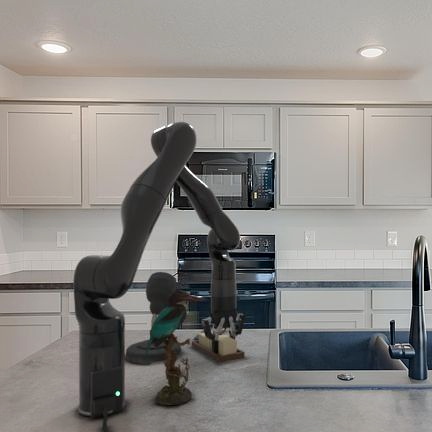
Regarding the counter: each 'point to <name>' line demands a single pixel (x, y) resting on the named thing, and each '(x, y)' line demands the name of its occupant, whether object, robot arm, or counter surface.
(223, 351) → the pad
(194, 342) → the frame
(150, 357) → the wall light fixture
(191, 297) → the sculpture
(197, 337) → the smartphone
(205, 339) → the pad
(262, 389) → the counter surface
